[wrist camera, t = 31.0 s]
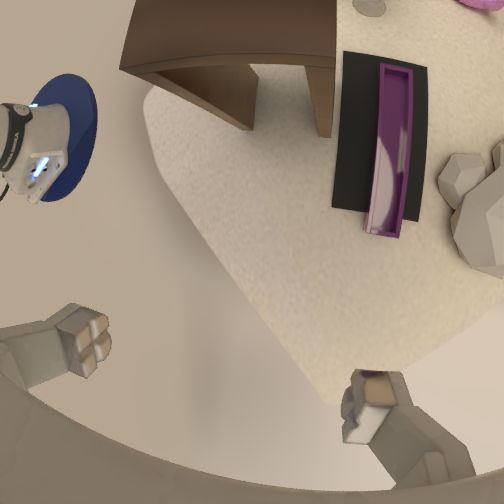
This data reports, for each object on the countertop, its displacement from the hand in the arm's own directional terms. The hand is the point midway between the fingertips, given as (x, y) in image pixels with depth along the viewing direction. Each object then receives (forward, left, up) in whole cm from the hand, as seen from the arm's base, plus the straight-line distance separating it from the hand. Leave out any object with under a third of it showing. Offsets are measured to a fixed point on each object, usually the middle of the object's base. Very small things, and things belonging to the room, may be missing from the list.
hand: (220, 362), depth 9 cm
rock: (+24, -15, -32) cm, 43 cm away
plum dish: (+15, 0, -32) cm, 35 cm away
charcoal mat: (+16, +3, -32) cm, 36 cm away
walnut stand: (+9, +13, -32) cm, 36 cm away
